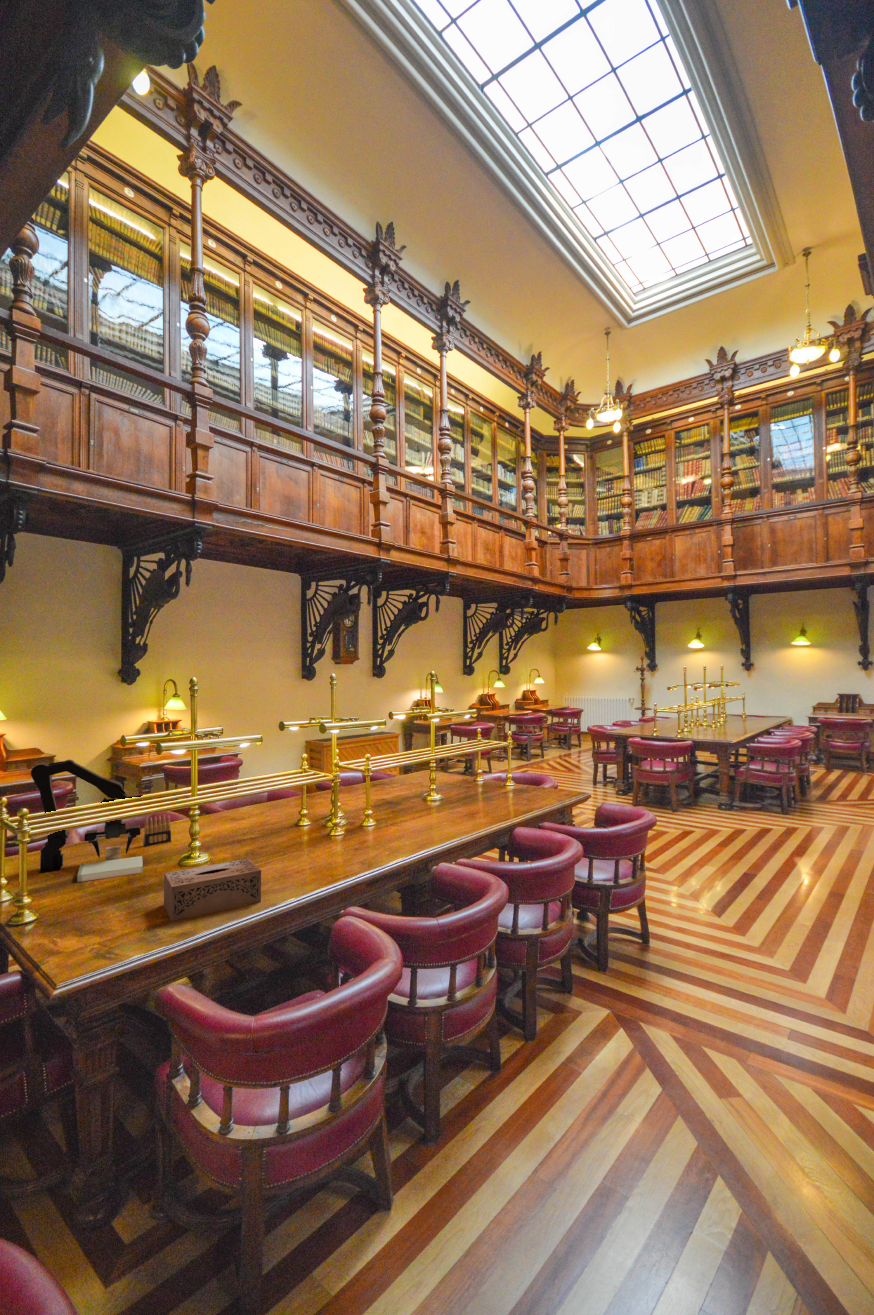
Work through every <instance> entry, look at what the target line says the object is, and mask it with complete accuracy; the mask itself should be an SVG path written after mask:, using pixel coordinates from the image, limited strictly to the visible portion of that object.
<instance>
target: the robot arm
mask: <svg viewBox="0 0 874 1315" xmlns="http://www.w3.org/2000/svg"><path fill="white" fill-rule="evenodd" d="M64 772H67V773H69V774H72V775H73V776H75V777H77V778H79V779H81V780H83V781H85V782H87V783H89V784H91V786H92V785H93V786H94V787H96V789H98V790H99V791H100V792H101V793H102V794H104V797H103V799H102V800H101V801H99V804H100V803H102V802H109V801H114V800H116V799H118V800H119V799H125V798H132V797H141V796H143V797H144V795H143V794H141V793H140V794H136V795H134V794H133V795H128V793H127V792H126V791H124V789H123V787H124V786H123V784H122V783H121V782H119V781H117V780H114V779H112V778H107V777H103V776H101V775H99V774H98V773H96V772H93V770H90V769H88V768H86V767H84V766H83V765H81V764H79V763H76V762H75V761H74V760H72V759H66V760H63V761H56V762H52V763H51V762H50V763H47V762H40V763H37V764H36V765H34V766H33V767H32V769H31V770H30V776H31V778H32V781H33V782H34V784H35V785H36V787H37V788H38V791H39V795H40V800H41V803H42V804H41V805H42V807H43V811H44V814H45V813H46V812H51V811H56V810H58V806H57V802H56V798H55V794H54V790H53V786H52V785H53V784H52V782H53V775H58V774H62V773H64ZM105 796H106V797H105ZM126 827H127V823H125V822H124V823H123V818H122V819H121V820H115V821H110V822H105V821H104V827H103V828H104V831H98V829H91V830H86V831H85V833H84V840H83V841H84V842H88V843H89V844H92V845H93V847H94V849H95V852H96V855H97V858H100V857H101V856H100V855H101V854H100V853H101V852H100V851H101V850H100V843H99V842H100V841H99V838H101V837H105V839H106V840H110V839H118V838H120V836H121V835H127V838H126V840H127V841H126V845H125V846H126V848H125V854H127V855H128V853H129V852H128V851H129V849H130V847H131V844H132V841H133V840H134V839H135V838H137V836H141V825H140V824H137V825H136V824H135V825H129V827H128V828H126ZM69 836H70V832H69V831H68V830H62V831H58V832H55V833H53V834H50V835H48V836H47V837H46V838H47V841H46V842H45V843H44V844H43V846H42V848H40V855H39V856H40V860H39V861H40V862H39V865H40V866H39V870H38V873H45V872H54V871H61V869H62V867H63V866H64V853H63V852H62V851H63V850H62V848H63V847H64V846H65V845H66V844H67V841H68V838H69Z"/></svg>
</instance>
